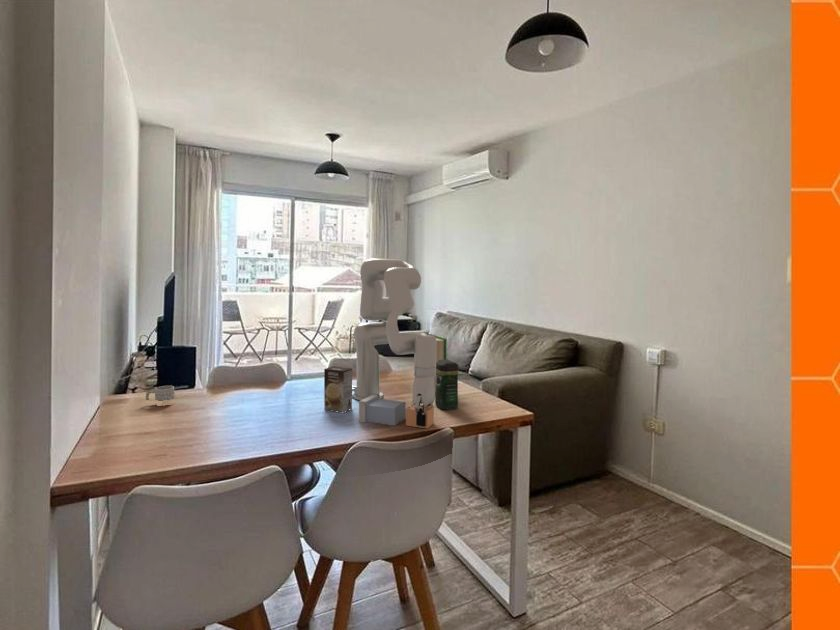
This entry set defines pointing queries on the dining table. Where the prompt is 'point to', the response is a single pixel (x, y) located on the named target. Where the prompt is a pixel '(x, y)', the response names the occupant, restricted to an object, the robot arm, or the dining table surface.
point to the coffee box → (338, 388)
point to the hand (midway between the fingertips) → (424, 422)
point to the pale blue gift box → (381, 410)
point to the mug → (162, 393)
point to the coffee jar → (446, 384)
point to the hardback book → (440, 350)
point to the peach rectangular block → (412, 416)
